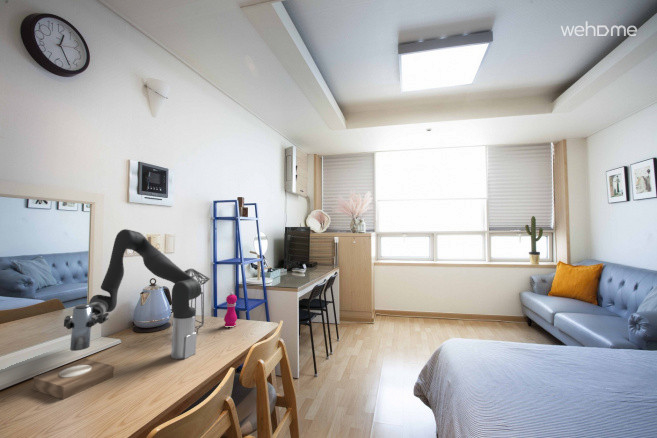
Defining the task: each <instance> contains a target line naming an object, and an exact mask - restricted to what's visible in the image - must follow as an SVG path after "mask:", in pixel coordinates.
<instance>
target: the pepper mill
mask: <svg viewBox="0 0 657 438" xmlns="http://www.w3.org/2000/svg"><path fill="white" fill-rule="evenodd" d="M225 301H226V307H227V310H226V313H225V315H224V317H223V321H224V322H225V323H224V327H225V326H234V325H236V326H237V320H238V316H237V313H236V311H235V310H236V308H235V307H236V304H237V303H236V302H237V301H238V299H237V295H235V294H234V292H233V291H231V292H230V294H228V295H227V296H226V298H225Z"/></svg>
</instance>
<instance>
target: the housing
mask: <svg viewBox="0 0 657 438" xmlns="http://www.w3.org/2000/svg"><path fill="white" fill-rule="evenodd" d="M71 318H72V328H71V333H70V347H69V349H70V351H72V352H77V351H82V350H86V349H88V348H89V347H91V346H90V345H91V333H92V332H91V331H92V327H89V321H90V320H92V306H91V304H89V303H81V304H77V305H75V307H73V308H72V316H71Z"/></svg>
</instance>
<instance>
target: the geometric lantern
mask: <svg viewBox="0 0 657 438" xmlns="http://www.w3.org/2000/svg"><path fill="white" fill-rule="evenodd" d="M183 271H184V272H185V273H187V274H188V275H190V276H191V277H193V278H194V279H195V278H196V280H197V281H198V282H199V284H200V285H201V286H202V291H201V294H200V295H201V297H200V301H201V303H200V304H201V307H200V308H201V321H199V320H197V319H196V320H195V322H197V323H199V324H201V325H197V326H196V325H195V332H196V333H197V334H198V332H199V329H201V327H203V326H204V324H205V292H204V291H205V288H204V286H205V284H206V283H207V282H208V281H210V280H211V278H210V277H209V276H207V275H205V274H202V273H201V272H199V270H196V269H194V268H188V269H186V270H183ZM193 300H194V308H195V309H196V310H197V298H194V299H191V300H190V307H193ZM171 327H173V320H172V322H171Z"/></svg>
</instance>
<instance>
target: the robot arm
mask: <svg viewBox="0 0 657 438" xmlns="http://www.w3.org/2000/svg"><path fill="white" fill-rule="evenodd" d="M126 250H132V251H134V252H135V253H136V254H138V255H139V256H140V257H141V258H142V260H143V265H144V267H145V268H147V270H149V271H150V273H151V274H153V275H154V276H156V277H158V278H160V279H163V280H165V281H169V282H170V283H172V284H173V286H172V290H171V312H172V316H173V317H172V321H173V326H171V327H172V329H171V330H172V331H171V346H170V347H171V348H170V357H171V358H172V359H175V360H176V359H177V360H178V359H179V360H180V359H188V358H189V357H191V356H194V355H196V351H197V336H198V335H197V334H198V333H196V332H195V331H196V328H195V327H196V321H195V320H197V308H196V309H195V307H193V306H192V307H191V306H190V301H191V300H192V299H193V300H195V298H196V299H197V298H199V297H200V295H201V292H203V289H202V285H200V284H201V283H200V282H198V280H197V278H196V279H195V277H194V278H193V277H191V276H192V275H191V274H190V275H188V274H187V273H185V272H184V271H185V270H182V269H181V268H180V267H179V266H177V264H175V263H174V262H173V261H172V260H171V259H170V258H169V257H167V256H166V255H165V254H164V253H162V252H161V251H160V250H159V249H158V248H156V247H155V246H154V245H152V243H151V242H150V241H149V240H148V239H147V237H146V236H144V234H142V233H141V232H138V231H136V230H131V229H128V228H125V229H121V230H120V231H119V232H117V234H116V237H115V239H114V242H113V247H112V250H111V251H112V252H111V255H110V261H109V265H108V267H107V270H106V274H105V275H104V278H103V280H102V282H101V285H100V289H101V290H102V291H105V292H107V293H108V294H109V295H103V294H96V295H93V296H92V297H91V298H90V300H89V301H88V304H91V306H92V320H90V321H89V327H91V328H92V327H93V326H96V325H97V324H100V325H102V324H104V323H105V322H107V321H108V320H109V315H110V314H109V313H110V312H112V311H114V310H115V309H116V307H117V305H118V304H117V302H118V294H119V293H118V292H119V288H120V286H121V284H122V281H123V278H124V274H125V268H124V256H125V252H126ZM199 283H200V284H199ZM63 327H65V329H67V330H72V316H70V315H66V316H65V317H64V319H63Z"/></svg>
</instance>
